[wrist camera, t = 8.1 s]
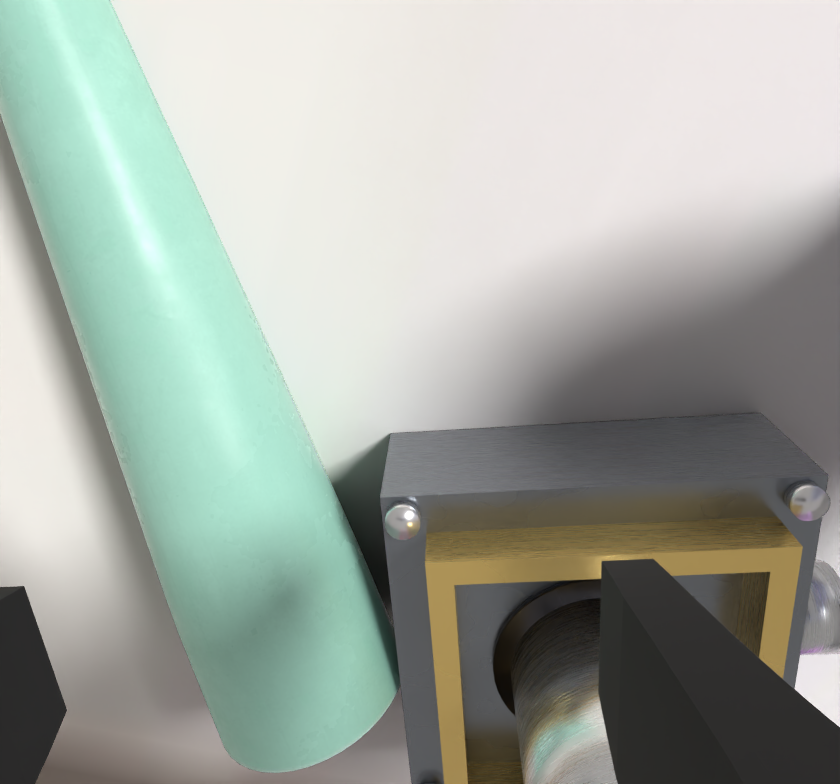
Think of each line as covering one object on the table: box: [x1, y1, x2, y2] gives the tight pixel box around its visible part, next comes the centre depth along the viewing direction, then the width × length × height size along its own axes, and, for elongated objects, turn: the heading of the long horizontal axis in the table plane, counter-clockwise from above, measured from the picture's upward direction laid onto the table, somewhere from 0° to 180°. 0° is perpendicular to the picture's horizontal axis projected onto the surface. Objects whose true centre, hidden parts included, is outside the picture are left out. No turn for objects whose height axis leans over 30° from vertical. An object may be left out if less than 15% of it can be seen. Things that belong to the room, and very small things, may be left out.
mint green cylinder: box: [0, 0, 400, 773], centre depth 15 cm, size 5×6×27 cm
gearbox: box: [380, 413, 840, 784], centre depth 18 cm, size 12×10×5 cm
